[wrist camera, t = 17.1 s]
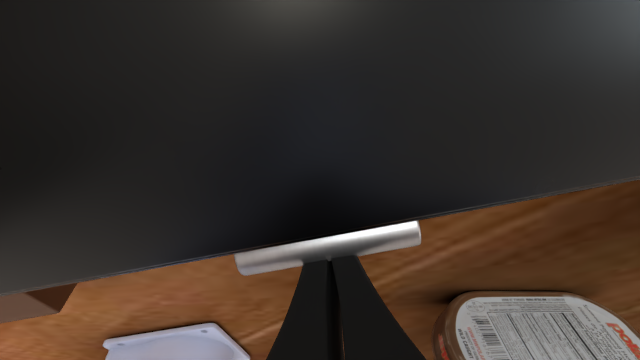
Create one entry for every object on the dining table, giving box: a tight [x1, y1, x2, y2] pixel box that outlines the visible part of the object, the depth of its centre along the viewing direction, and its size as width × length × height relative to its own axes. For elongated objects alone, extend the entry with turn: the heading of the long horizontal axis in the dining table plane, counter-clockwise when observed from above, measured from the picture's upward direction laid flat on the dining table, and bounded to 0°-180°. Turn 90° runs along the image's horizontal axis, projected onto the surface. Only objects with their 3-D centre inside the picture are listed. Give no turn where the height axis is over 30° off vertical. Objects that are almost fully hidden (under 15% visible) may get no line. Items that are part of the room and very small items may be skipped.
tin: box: [431, 291, 640, 360], centre depth 20 cm, size 15×3×8 cm, turn 84°
